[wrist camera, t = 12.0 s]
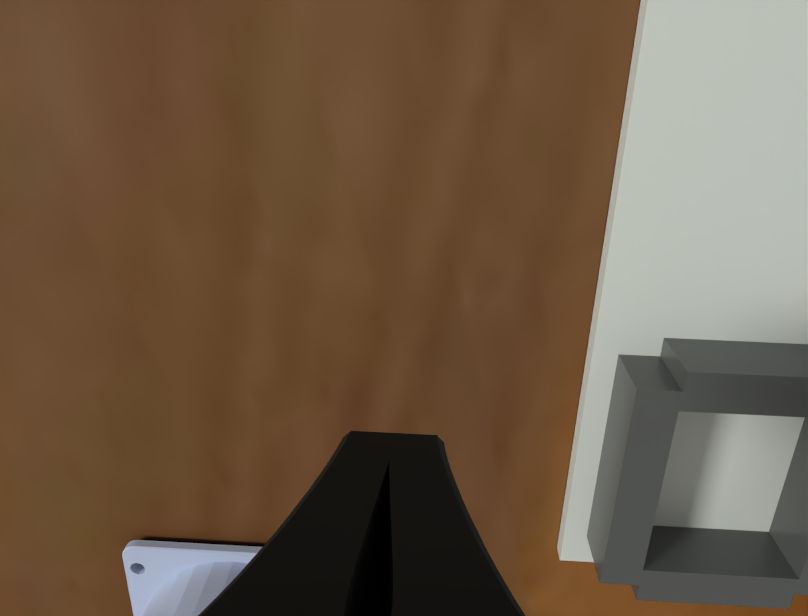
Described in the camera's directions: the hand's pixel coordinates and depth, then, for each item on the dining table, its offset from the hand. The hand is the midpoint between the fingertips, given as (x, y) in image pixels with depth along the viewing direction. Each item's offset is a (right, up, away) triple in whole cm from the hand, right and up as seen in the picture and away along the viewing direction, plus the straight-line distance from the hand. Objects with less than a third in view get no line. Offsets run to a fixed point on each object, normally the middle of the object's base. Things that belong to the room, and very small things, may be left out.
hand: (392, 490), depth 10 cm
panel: (+13, +2, +10) cm, 16 cm away
